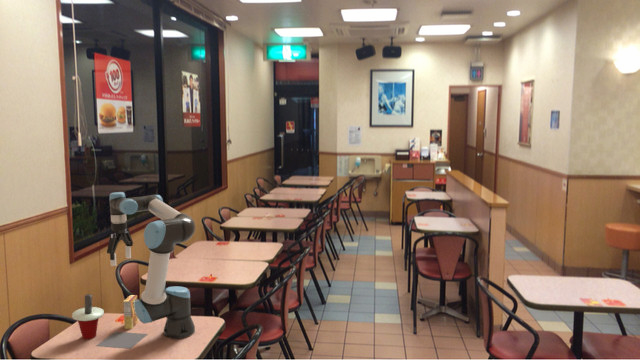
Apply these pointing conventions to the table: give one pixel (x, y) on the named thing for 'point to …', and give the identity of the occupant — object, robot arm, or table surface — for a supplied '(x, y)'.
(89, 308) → the lid
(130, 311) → the candy box
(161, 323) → the table surface
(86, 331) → the plastic cup
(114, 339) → the mat
